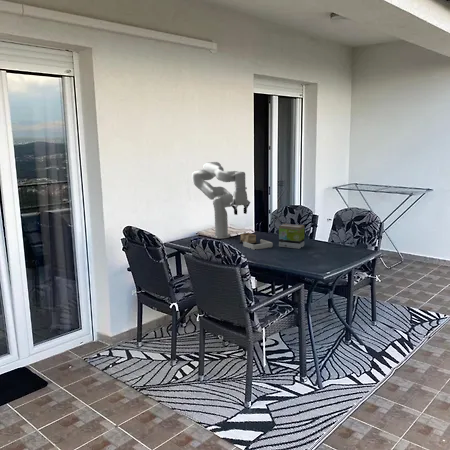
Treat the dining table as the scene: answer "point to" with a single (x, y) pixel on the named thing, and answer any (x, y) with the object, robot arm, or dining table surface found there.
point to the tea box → (291, 235)
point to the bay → (258, 245)
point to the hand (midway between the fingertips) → (240, 213)
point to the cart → (248, 238)
